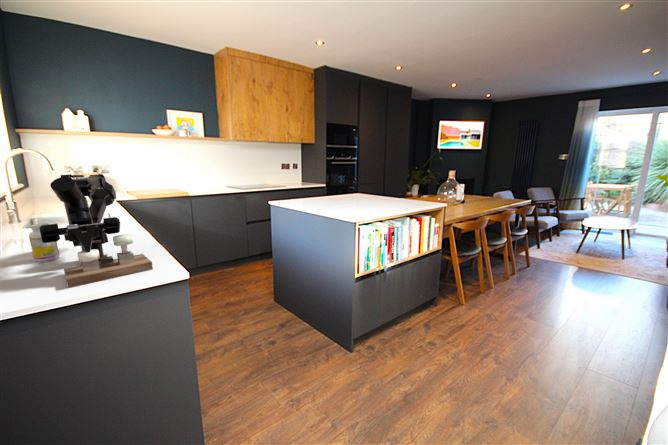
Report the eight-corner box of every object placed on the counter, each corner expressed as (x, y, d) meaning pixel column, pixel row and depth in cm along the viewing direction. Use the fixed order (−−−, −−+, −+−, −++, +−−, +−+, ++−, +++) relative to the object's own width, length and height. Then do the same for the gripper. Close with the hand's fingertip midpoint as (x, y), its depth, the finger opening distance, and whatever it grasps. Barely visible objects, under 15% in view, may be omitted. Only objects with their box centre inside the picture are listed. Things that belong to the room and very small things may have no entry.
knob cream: (79, 269, 92) (76, 251, 90) (100, 265, 95) (97, 248, 94) (81, 273, 88) (78, 255, 87) (102, 269, 91) (99, 251, 90)
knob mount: (65, 276, 92) (61, 259, 91) (143, 260, 107) (141, 245, 106) (68, 288, 84) (64, 269, 83) (152, 269, 98) (150, 253, 97)
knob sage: (114, 253, 97) (111, 236, 96) (132, 249, 100) (129, 233, 99) (117, 256, 93) (114, 239, 92) (135, 253, 97) (133, 236, 96)
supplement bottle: (45, 256, 112) (38, 222, 109) (64, 255, 112) (57, 222, 109) (29, 262, 105) (21, 226, 102) (49, 261, 106) (41, 226, 103)
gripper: (113, 222, 107) (124, 258, 101) (40, 230, 94) (48, 273, 88) (114, 202, 100) (126, 240, 94) (35, 208, 87) (43, 252, 81)
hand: (88, 251), depth 90 cm, fingers closed, pressing on knob cream
